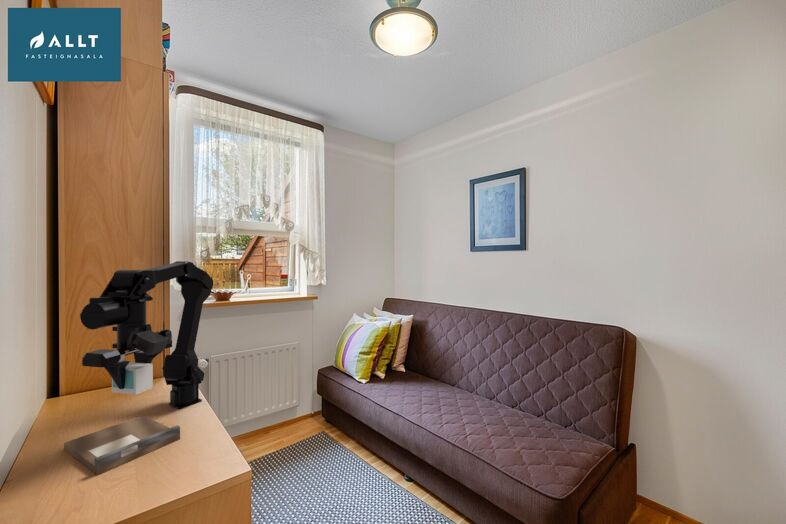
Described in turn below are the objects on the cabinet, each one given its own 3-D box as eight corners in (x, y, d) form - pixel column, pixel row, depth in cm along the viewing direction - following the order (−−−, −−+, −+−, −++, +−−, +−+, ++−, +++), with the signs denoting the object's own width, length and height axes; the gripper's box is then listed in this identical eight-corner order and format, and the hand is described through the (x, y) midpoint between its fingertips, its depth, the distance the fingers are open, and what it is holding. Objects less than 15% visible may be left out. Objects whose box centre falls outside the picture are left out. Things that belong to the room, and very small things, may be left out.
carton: (129, 385, 87) (129, 361, 87) (152, 387, 86) (152, 363, 86) (110, 392, 83) (110, 367, 82) (134, 395, 81) (134, 369, 81)
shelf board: (143, 420, 92) (143, 409, 92) (180, 439, 83) (180, 426, 83) (64, 449, 79) (63, 435, 78) (97, 475, 69) (97, 460, 69)
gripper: (122, 330, 73) (122, 403, 73) (189, 316, 92) (189, 374, 92) (80, 328, 75) (80, 399, 76) (154, 314, 94) (154, 372, 94)
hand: (131, 385), depth 84 cm, fingers closed on carton, 5 cm apart
